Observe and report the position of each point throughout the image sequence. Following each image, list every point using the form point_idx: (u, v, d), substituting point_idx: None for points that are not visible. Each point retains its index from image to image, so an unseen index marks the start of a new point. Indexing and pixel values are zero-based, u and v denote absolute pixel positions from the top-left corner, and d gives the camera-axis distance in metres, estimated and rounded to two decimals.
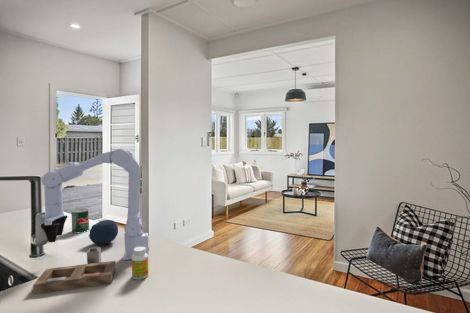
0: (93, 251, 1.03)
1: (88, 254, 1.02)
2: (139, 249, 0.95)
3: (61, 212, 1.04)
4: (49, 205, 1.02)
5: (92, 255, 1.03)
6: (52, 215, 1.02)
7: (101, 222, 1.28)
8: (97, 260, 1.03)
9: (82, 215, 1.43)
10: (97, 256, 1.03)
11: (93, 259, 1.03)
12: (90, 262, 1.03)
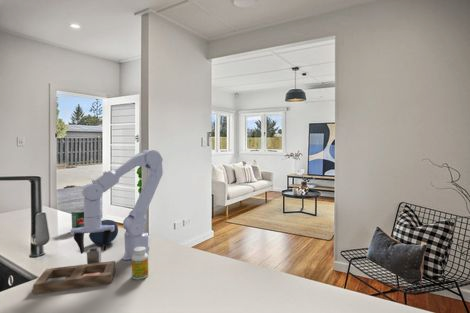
0: (93, 251, 1.03)
1: (88, 254, 1.02)
2: (139, 249, 0.95)
3: (88, 227, 1.01)
4: None
5: (92, 255, 1.03)
6: None
7: (101, 222, 1.28)
8: (97, 260, 1.03)
9: (82, 215, 1.43)
10: (97, 256, 1.03)
11: (93, 259, 1.03)
12: (90, 262, 1.03)
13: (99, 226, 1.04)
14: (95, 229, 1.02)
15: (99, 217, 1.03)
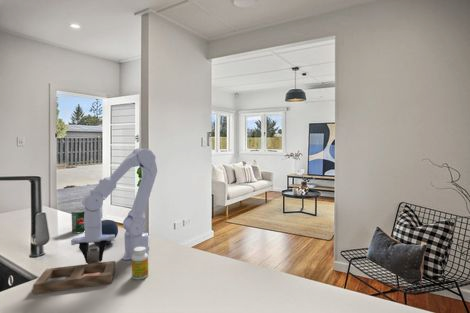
0: (93, 251, 1.03)
1: (88, 254, 1.02)
2: (139, 249, 0.95)
3: (88, 237, 1.02)
4: None
5: (92, 255, 1.03)
6: None
7: (101, 222, 1.28)
8: (97, 260, 1.03)
9: (82, 215, 1.43)
10: (97, 256, 1.03)
11: (93, 259, 1.03)
12: (90, 262, 1.03)
13: (99, 236, 1.04)
14: (95, 239, 1.02)
15: (99, 227, 1.04)
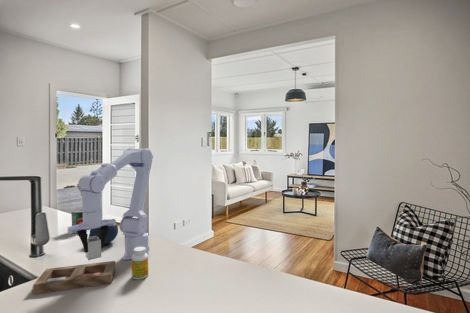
0: (94, 240, 0.93)
1: (89, 244, 0.92)
2: (139, 249, 0.95)
3: (91, 223, 0.91)
4: None
5: (94, 245, 0.93)
6: (83, 223, 0.92)
7: None
8: (99, 250, 0.94)
9: (82, 215, 1.43)
10: (99, 245, 0.94)
11: (95, 249, 0.93)
12: (91, 253, 0.93)
13: (101, 221, 0.94)
14: (98, 224, 0.93)
15: (101, 211, 0.94)
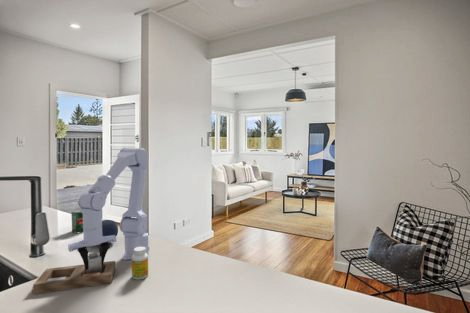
0: (95, 257, 0.94)
1: (90, 261, 0.92)
2: (139, 249, 0.95)
3: (91, 240, 0.92)
4: (83, 229, 0.93)
5: (94, 262, 0.93)
6: (84, 241, 0.92)
7: None
8: (99, 267, 0.95)
9: (82, 215, 1.43)
10: (99, 262, 0.94)
11: (95, 266, 0.94)
12: (92, 270, 0.93)
13: (102, 238, 0.95)
14: (99, 241, 0.93)
15: (101, 228, 0.95)
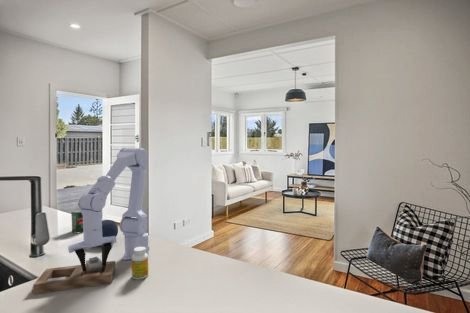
0: (95, 262, 0.94)
1: (90, 266, 0.93)
2: (139, 249, 0.95)
3: (91, 241, 0.92)
4: (83, 230, 0.93)
5: (94, 266, 0.93)
6: (84, 242, 0.92)
7: None
8: (100, 271, 0.95)
9: (82, 215, 1.43)
10: (100, 267, 0.94)
11: (95, 271, 0.94)
12: None
13: (102, 239, 0.95)
14: (99, 242, 0.93)
15: (101, 229, 0.95)
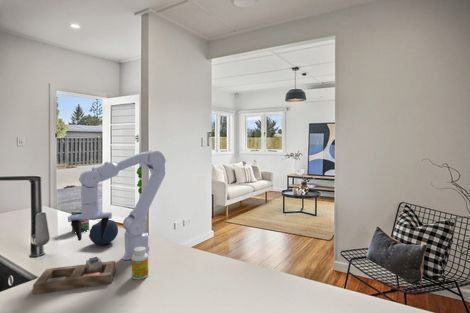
0: (95, 262, 0.94)
1: (90, 266, 0.93)
2: (139, 249, 0.95)
3: (85, 214, 1.01)
4: None
5: (94, 266, 0.93)
6: None
7: None
8: (100, 271, 0.95)
9: None
10: (100, 267, 0.94)
11: (95, 271, 0.94)
12: None
13: (97, 213, 1.03)
14: (93, 216, 1.01)
15: (96, 204, 1.03)
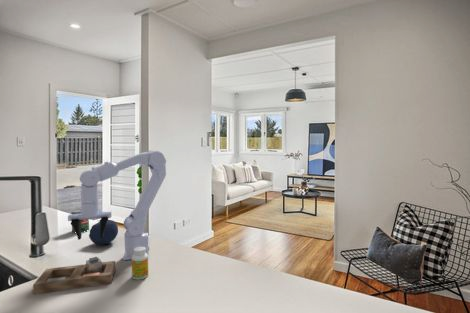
0: (95, 262, 0.94)
1: (90, 266, 0.93)
2: (139, 249, 0.95)
3: (85, 213, 1.02)
4: None
5: (94, 266, 0.93)
6: None
7: None
8: (100, 271, 0.95)
9: None
10: (100, 267, 0.94)
11: (95, 271, 0.94)
12: None
13: (96, 212, 1.04)
14: (92, 215, 1.02)
15: (96, 203, 1.04)
